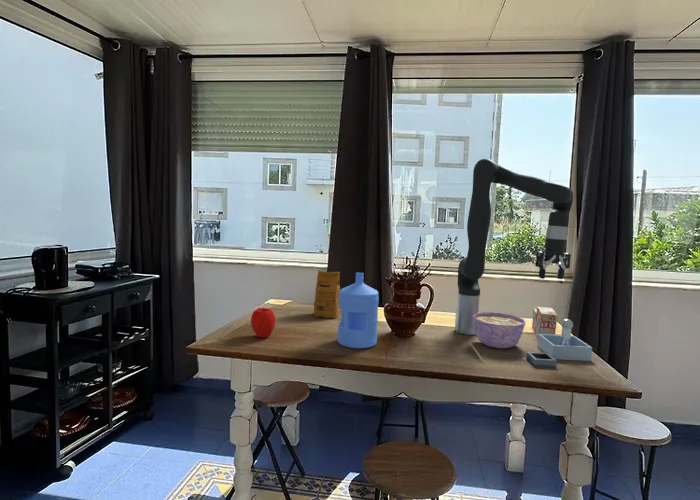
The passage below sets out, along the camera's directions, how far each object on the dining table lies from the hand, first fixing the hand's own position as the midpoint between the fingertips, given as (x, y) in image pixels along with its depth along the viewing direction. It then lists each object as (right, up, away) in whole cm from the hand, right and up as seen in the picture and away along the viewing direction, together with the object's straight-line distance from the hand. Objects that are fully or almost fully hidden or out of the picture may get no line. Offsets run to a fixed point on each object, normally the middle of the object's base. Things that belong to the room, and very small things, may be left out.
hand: (550, 278), depth 170 cm
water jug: (-76, -26, +1) cm, 81 cm away
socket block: (-11, -30, -16) cm, 36 cm away
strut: (+3, -28, -6) cm, 29 cm away
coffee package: (-91, -21, +40) cm, 101 cm away
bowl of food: (-20, -28, +3) cm, 34 cm away
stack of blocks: (+6, -27, +22) cm, 35 cm away
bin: (+2, -29, -5) cm, 30 cm away
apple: (-114, -24, +4) cm, 117 cm away
